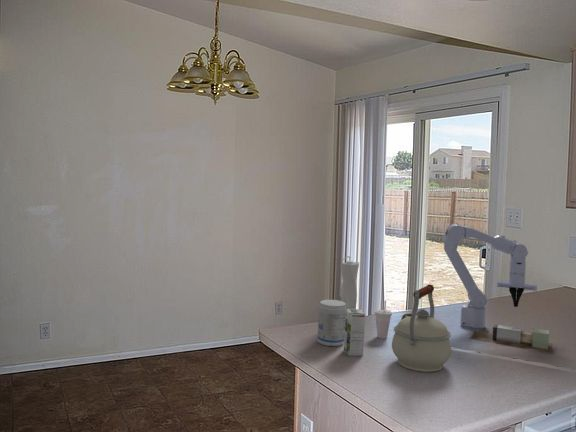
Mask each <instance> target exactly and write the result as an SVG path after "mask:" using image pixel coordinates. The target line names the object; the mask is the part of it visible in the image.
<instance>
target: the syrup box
mask: <svg viewBox="0 0 576 432" xmlns="http://www.w3.org/2000/svg"><path fill="white" fill-rule="evenodd" d="M365 324H366V313H365V312H364V311H363V310H362V309H360V308H359V309H358V308H356V309H346V318H345V334H344V343H343V351H344V354H345V355H346V357H347V356H348V357H353V356H354V357H358V356H359V357H361V356H364V343H365V326H366V325H365Z"/></svg>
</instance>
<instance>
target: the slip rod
mask: <svg viewBox="0 0 576 432" xmlns="http://www.w3.org/2000/svg"><path fill="white" fill-rule="evenodd" d="M498 325H499V324H494V325H493V327H492V334H493V337H492V339H496V338H497V327H498ZM532 340H533V332H528V331H523V330H522V331H521V338H520V341H522V342H528V343H532Z"/></svg>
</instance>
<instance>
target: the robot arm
mask: <svg viewBox="0 0 576 432" xmlns="http://www.w3.org/2000/svg"><path fill="white" fill-rule="evenodd" d="M463 238H464V239H469V238H472V239H473V238H474V239H477V240H479V241H482V242H484V243H487V244H489V245H490V246H491V247H492V249H493V250H496V251H498V252H501V253H504V254H507V255H510V261H509V281H497V282H496V284H497V285H496V286H497V288H508V291H509V293H510V295H511V299H512V302H513V307H515V308H518V306H519V303H520V300H521V297H522V295H523V293H524V291H525V290H527V291H534V292H536V291H537V290H538V285H535V284H528V283H526V268H527V267H526V265H527V264H526V263H527V262H526V257H528V254H529V251H528V249H527V247H526V245H524V244H522V243H520V242H518V241H517V240H512V239H509V238H507V237H506V236H505V235H503V234H501V235H500V234H499V235H495V236H492V235H490V234H487V233H485V232H483V231H480V230H477V229H475V228H472V227H470V226H465V225H459V224H458V223H451V224H450V225H449V226H448V227H447V229H446V231H445V233H444V244H443V250H444V252H445V254H446V256H447V257H448V260H449V261H450V263H451V265H452V267H453V268H454V270H455V271H456V274H457V275H458V277H459V279H460V281H461V283H462V285H463V286H464V288H465V290H466V292H467V297H468V298H467V299H468V300H469V302H468V303H467V304H463V305H462V307H461V312H460V326H463V327H468V328H474V329H484V328H486V318H487V317H486V315H487V314H486V313H487V306H486V305H487V302H488V298H487V296H486V294H484V292H483V291H482V289H480V288H479V287H478V285H477V283H476V282H475V280H474V278H473V276H472V275H471V273H470V271H469V269H468V268H467V265H466V263H465V262H464V260H463V258H462V257H461V255H460V253H459V251H458V247H459V244H460V242H461V241H462V240H463Z"/></svg>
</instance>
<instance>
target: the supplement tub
mask: <svg viewBox="0 0 576 432" xmlns="http://www.w3.org/2000/svg"><path fill="white" fill-rule="evenodd" d="M345 317H346V303H345V302H342V301H340V300H337V299H323V300H320V302H319V306H318V322H317V324H318V326H317V327H318V328H317V342H318V343H319V344H320V345H323V346H327V347H339V346H342V345H344V334H345Z"/></svg>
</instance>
